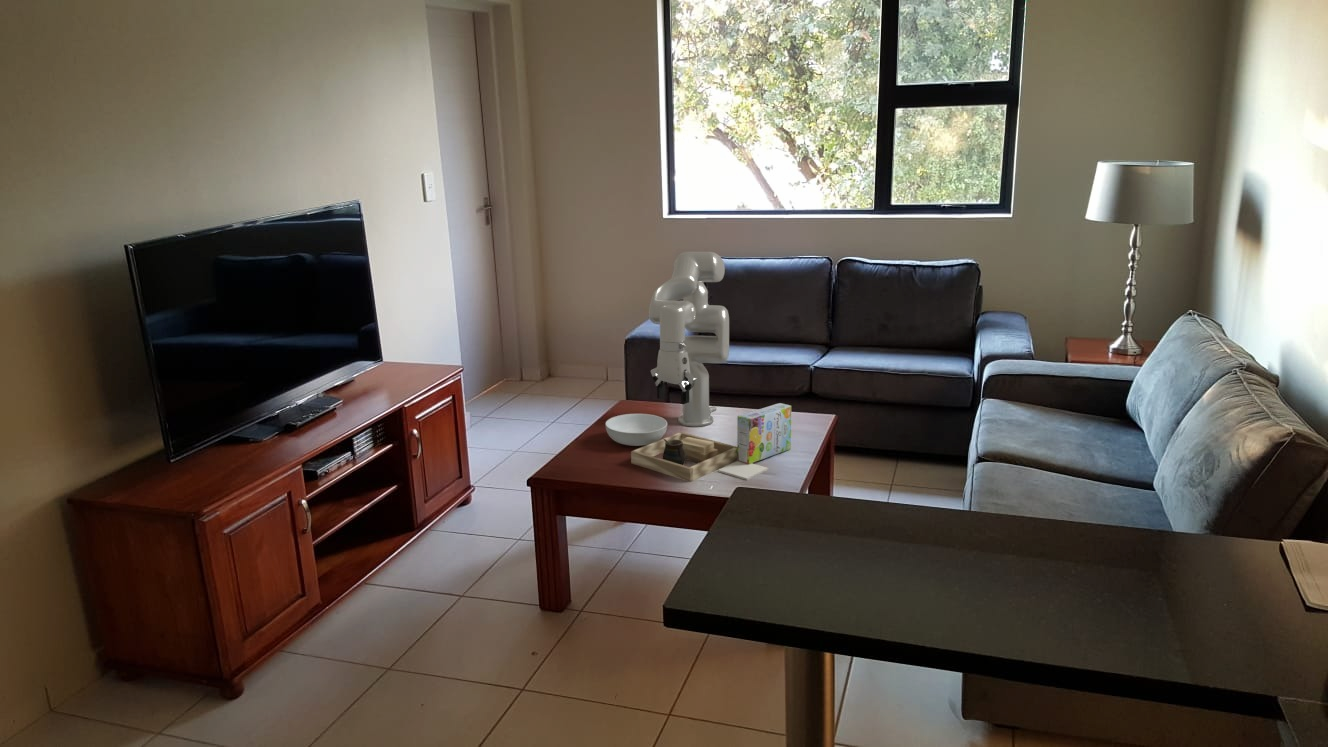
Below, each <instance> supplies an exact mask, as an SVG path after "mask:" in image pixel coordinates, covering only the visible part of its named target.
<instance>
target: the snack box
mask: <svg viewBox="0 0 1328 747" xmlns="http://www.w3.org/2000/svg"><path fill="white" fill-rule="evenodd" d="M736 419H737V421H736V422H737V427H736V428H737V436H736V438H737V439H736V440H737V442H736V443H737V444H736V447H737V461H741V462H744V463H747V464H751V463H752V464H754V463H756V462H758V461H761V460H764V459H767V458H769V457H773V456H775V455H778V454H780V453H783V452H786V451H789V450H791V449H792V405H789V404H785V403H783V402H782V403H781V402H779V403H775V404H772V405H769V406H766V407H763V408H759V409H756V410H753V411H750V412H746V413H743V414H740V415H737V418H736Z"/></svg>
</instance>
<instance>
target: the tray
mask: <svg viewBox="0 0 1328 747" xmlns="http://www.w3.org/2000/svg"><path fill="white" fill-rule="evenodd" d="M686 437H691V438H696V439H701V440H706V441H711V442H714V448H715V449H718V455H717V456H714V457H712V458H710V459H707V460H705V461H703V462H701V463H697V464H694V465H692V466H687V465H685V464H684V465H681V464H677V463H674V462H671V461H667V460H664V459H663V458H661V457H657V455H660V454H662V453H664V450H665V440H666V441H668V440H672V439H676V440H683V439H685V438H686ZM664 439H665V440H664ZM630 456H631V457H630V458H631V459H630V460H631V461H630V462H631V463H630V464H632V465H634V466H635V465H636V466H638V467H642V468H645V469H648V470H651V471H654V472H657V473H661V474H664V475H668V476H671V477H674V478H676V479H680V480H684V481H687V482H690V483H691V482H693V481H695V480H698V479H699V478H701V477H702V478H703V477H704V476H706V475H708V474H710V473H714V471H718V470H719V469H721V468H723V467H725V466H727V465H730V464H732V463H734V462H736V461H737V445H732V444H729V443H724V442H721V441H716V440H712V439H709V438H705V437H701V436H698V435H695V434H691V433H686V432H683V431H680V432H677V433H674V434H672V435H670V436H667V437H664V438H661V439H660V440H658V441H656V442H654V443H652V444H648V445H643V446H641V447H639V448H636V449H634V450H632V451H630Z"/></svg>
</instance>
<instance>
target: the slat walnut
mask: <svg viewBox="0 0 1328 747" xmlns="http://www.w3.org/2000/svg"><path fill="white" fill-rule="evenodd" d="M685 460H687V461H691V462H694V463H697V464H698V463H701V462H703V460H700V459H697V458H694V457H691V456H688V455H686V459H685Z"/></svg>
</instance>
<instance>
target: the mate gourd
mask: <svg viewBox="0 0 1328 747" xmlns="http://www.w3.org/2000/svg"><path fill="white" fill-rule="evenodd" d="M663 439H664V438H663ZM664 440H665V439H664ZM662 459H664V460H667V461H671V462H674V463H677V464H681V465H684V466H685V463H686V460H687V459H686V454H685V452H684V450H683V442H682V441H681V440H676V439H672V440H668V441H666V440H665V450H664V452H663V454H662Z"/></svg>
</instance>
